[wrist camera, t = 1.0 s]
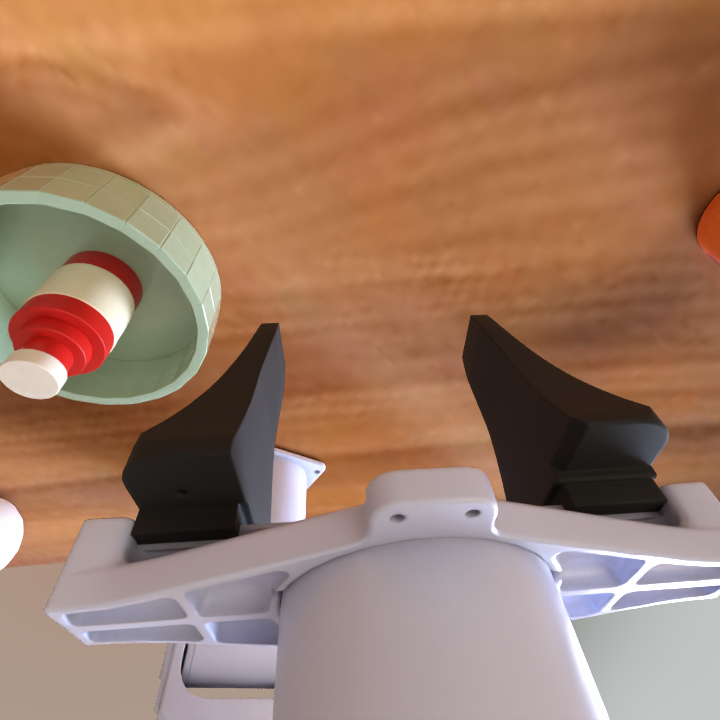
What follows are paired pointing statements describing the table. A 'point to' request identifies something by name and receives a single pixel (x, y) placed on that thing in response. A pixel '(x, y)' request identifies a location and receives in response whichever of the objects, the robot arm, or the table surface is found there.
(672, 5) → the table surface
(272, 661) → the robot arm
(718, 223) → the paper cup
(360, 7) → the table surface
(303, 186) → the table surface
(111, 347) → the sauce bottle
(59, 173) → the pan
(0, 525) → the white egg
